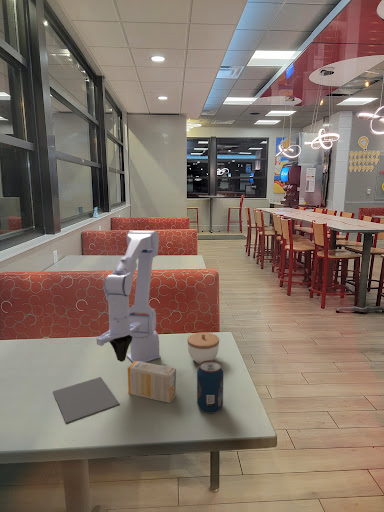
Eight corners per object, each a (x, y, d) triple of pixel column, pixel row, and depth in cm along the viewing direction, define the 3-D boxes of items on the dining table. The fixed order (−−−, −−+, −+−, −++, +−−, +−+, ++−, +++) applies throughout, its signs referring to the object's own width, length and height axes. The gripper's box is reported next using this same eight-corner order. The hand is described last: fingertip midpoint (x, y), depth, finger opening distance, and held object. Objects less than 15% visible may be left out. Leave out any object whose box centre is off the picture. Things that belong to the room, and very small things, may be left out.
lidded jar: (185, 366, 112) (184, 340, 111) (190, 351, 123) (190, 326, 121) (217, 369, 111) (217, 342, 109) (220, 353, 121) (220, 328, 119)
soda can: (197, 398, 95) (197, 358, 93) (222, 399, 95) (222, 359, 93) (196, 414, 88) (196, 372, 86) (223, 415, 88) (224, 372, 86)
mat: (100, 377, 106) (100, 376, 106) (119, 404, 93) (119, 403, 93) (52, 392, 98) (52, 391, 98) (66, 423, 85) (66, 422, 85)
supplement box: (136, 385, 102) (176, 394, 97) (127, 394, 97) (170, 404, 93) (135, 359, 100) (177, 367, 96) (127, 367, 96) (170, 376, 92)
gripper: (129, 306, 105) (131, 347, 108) (88, 319, 94) (91, 365, 97) (145, 311, 101) (146, 354, 103) (104, 326, 90) (107, 373, 92)
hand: (121, 359), depth 100 cm, fingers closed
